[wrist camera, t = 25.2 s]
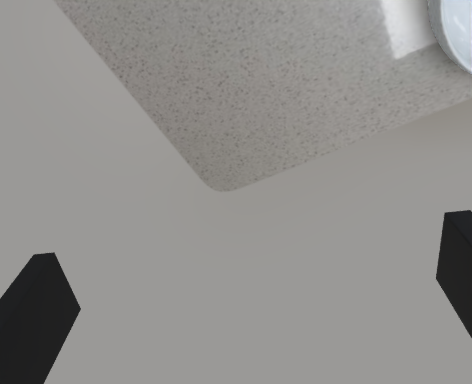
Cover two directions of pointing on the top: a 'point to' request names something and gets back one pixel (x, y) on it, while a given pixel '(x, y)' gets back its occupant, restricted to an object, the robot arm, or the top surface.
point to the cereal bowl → (453, 29)
